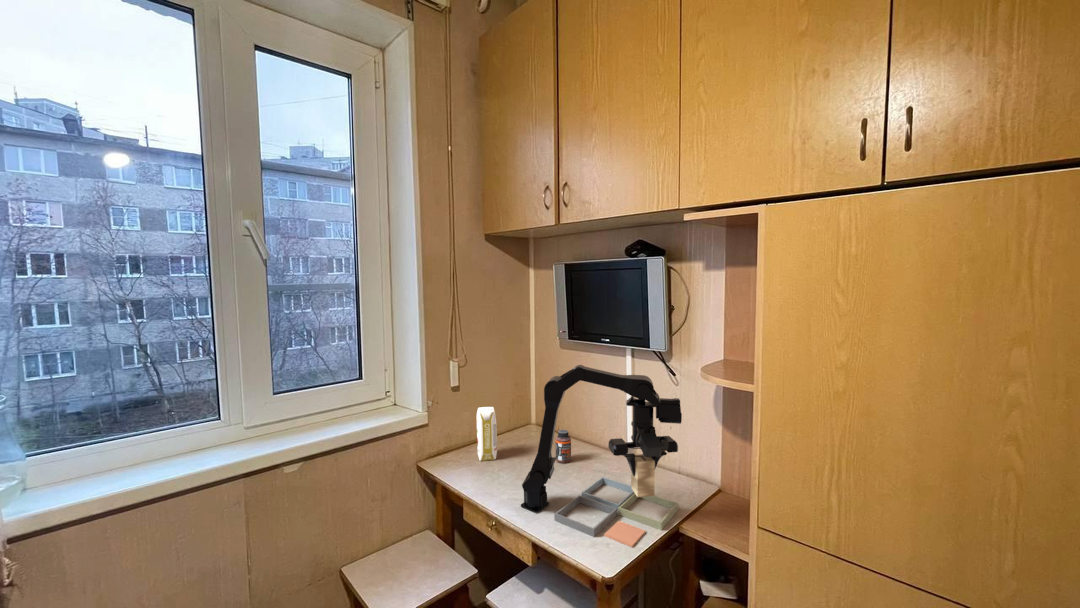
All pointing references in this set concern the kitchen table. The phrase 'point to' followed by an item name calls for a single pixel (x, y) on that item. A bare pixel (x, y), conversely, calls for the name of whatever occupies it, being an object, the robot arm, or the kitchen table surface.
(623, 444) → the robot arm
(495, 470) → the kitchen table surface
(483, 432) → the juice carton
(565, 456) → the supplement bottle
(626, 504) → the tray olive
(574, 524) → the tray charcoal
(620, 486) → the tray slate
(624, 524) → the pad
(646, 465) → the letter block
